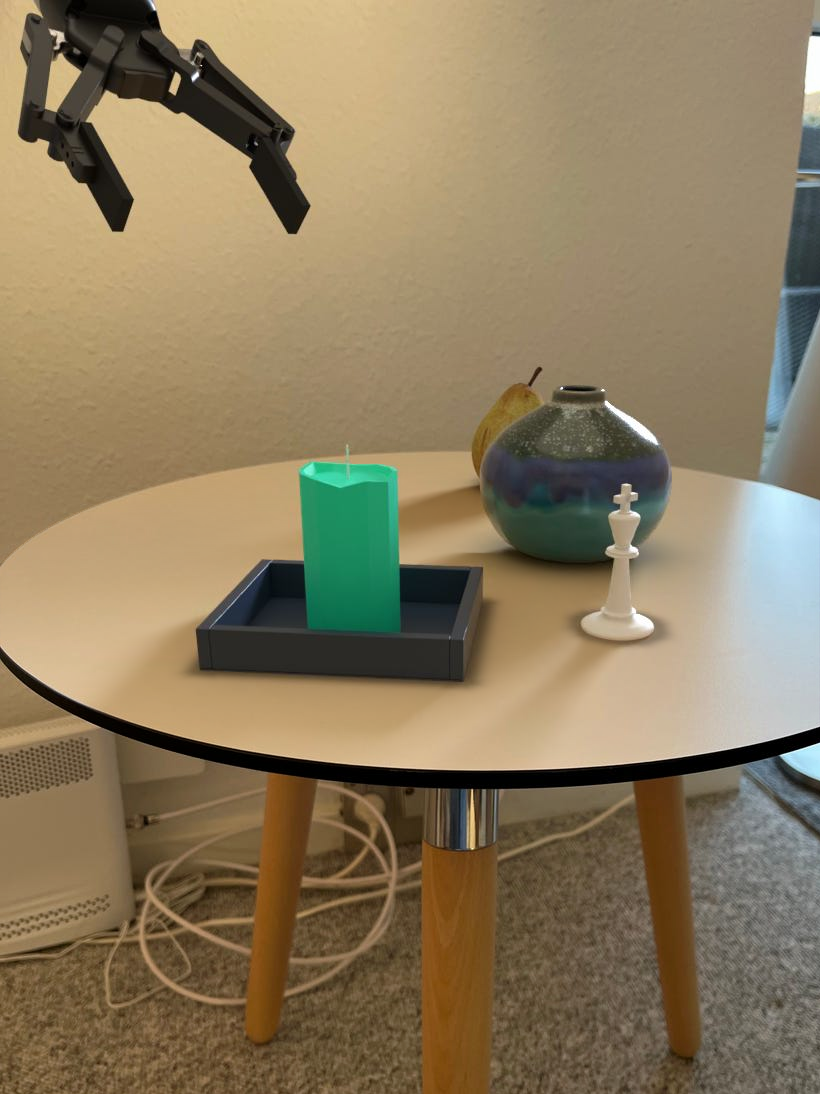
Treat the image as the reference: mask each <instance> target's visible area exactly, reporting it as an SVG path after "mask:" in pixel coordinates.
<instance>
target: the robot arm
mask: <svg viewBox="0 0 820 1094" xmlns="http://www.w3.org/2000/svg"><path fill="white" fill-rule="evenodd" d="M32 1H33V3H34V4H35V6H36V9H37V10H38V12H39V13H40V14H41V15H39V14H37V13H34V12H28V13H27V14H26V16H25V21H24V25H23V31H22V36H21V40H20V46H19V50H20V53H21V56H22V58H23V61H24V63H25V66H26V72H25V79H24V87H23V93H22V100H21V107H20V113H19V121H18V127H17V136H18V137H19V138H20V139H21V140H22V141H24V142H26V143H28V144H29V143H30V144H35V143H37V142H38V140H42V141H45V142H47V143H48V147H47V150H46V153H47V156H48V157H49V158H50V159H52V160H53V161H55V162H59V163H60V162H61V163H63V162H64V164H65V166H66V168H67V170H68V172H69V174H70V175H71V177H72V179H74V180H75V181H76V182H77V184H86V186H87V188H88V190H89V192H90V193H91V195H92V197H93V199H94V201H95V203H96V204H97V206H98V208H99V211H100V212H101V214H102V215H103V218H104V220H105V221H106V223H107V226H108V227H109V228H110V230H111V232H112V233H124V231H125V228H126V226H127V222H128V219H129V216H130V212H131V210H132V207H133V204H134V202H135V198H134V196H133V194H132V193H131V192H130V189H129V188H128V185H127V184H126V182H125V180H124V179H123V177H122V175H121V173H120V171H119V169H118V167H117V166H116V164H115V162H114V160H113V159H112V156H111V155H110V153H109V152H108V149H107V148H106V146H105V143H104V142H103V140H102V139H101V137H100V135H99V134H98V131H97V130H96V128H95V126H94V124H93V122H90V121H87V120H88V119H89V117H90V115H91V113H93V110H94V109H95V107H98V106H99V103H100V102H101V100H102V99H103V97H104V95H105V94H106V92H109V93H111V94H113V95H115V96H117V99H122V100H134V99H139V100H143V101H146V102H149V103H150V102H151V103H158V104H160V105H162V106H163V107H165V108H166V109H168V111H170V112H172V113H173V114H175V115H180V114H182V113H183V114H185V115H186V116H188V117H189V118H191V119H193V120H194V121H195V122H197V123H198V124H199V125H201V126H203V127H204V128H205V129H207V130H208V131H210V132H211V133H213V134H214V135H216V136H217V137H218V138H220V139H221V140H223V141H224V142H225V143H227V144H228V145H230V146H231V147H233V148H235V149H236V150H238V151H239V152H240V153H241V154H243V155H245V156H246V157H248V158H249V159H250V160H251V161H250V164H249V166H248V168H249V170H250V172H251V173H252V175H253V177H254V179H255V180H256V182H257V184H258V186H259V187H260V189H261V190H262V192H263V194H264V196H265V197H266V199H267V200H268V202H269V204H270V206H271V207H272V210H273V211H274V212H275V215H276V216H277V218H278V219H279V221H280V223H281V225H282V226H283V228H284V229H285V231H286V233H287V235H298V234H299V230H300V229H301V226H302V224H303V223H304V220H305V219H306V217H307V214H308V212H309V211H310V208H311V204H310V201H309V200H308V199H307V197H306V195H305V194H304V192H303V191H302V189H301V187H300V185H299V184H298V182H297V180H298V176H297V172H296V170H295V169H294V167H293V165H292V163H291V162H290V161H289V159H288V156H287V153H288V150H289V149H290V147H291V144H292V141H293V139H294V138H295V135H296V130H295V128H294V127H293V126H292V125H291V124H290V123H289V122H288V121H287V120H286V119H285V118H283V117H282V116H281V115H280V114H279V113H278V112H277V111H275V109H273V107H271V106H270V105H269V104H268V103H267V102H266V101H265V100H264V99H263V98H261V97H260V96H259V95H258V94H257V93H256V92H255V91H254V90H253V89H251V88H250V87H249V86H248V84H246V83H245V82H243V80H241V79H240V78H239V77H238V76H237V75H236V74H235V73H234V72H232V70H230V69H229V67H227V66H226V65H225V64H224V63H223V62H222V61H221V59H219V57H218V56H217V54H216V53H215V52H214V50H213V49H212V47H211V46H210V44H208V42H206V41H204V40H203V39H199V38H196V39H195V40H194V41H193V44H192V47H191V48H178V47H177V45H176V44H175V43H174V42H173V41H171V40H170V39H169V37H167V36H166V35H165V34H164V33H163V30H162V26H161V22H160V18H159V14H158V9H157V7H156V5H155V2H154V0H32ZM61 54H62V56H63V58H64V59H65V60H66V61H67V63H69V64H71V65H72V66H73V67H74V68H76V69H77V70H79V72H80V73H79V75H78V77H77V78H76V80H75V82H74V83H73V85H71V88H70V89H69V91H68V92H67V94H66V95H65V96H64V99H63V100H62V102H61V103H60V105H59V106H58V108H57V109H56V111H54V110H51V109H47V108H46V105H47V104H46V103H47V96H48V89H49V81H50V73H51V65H52V62H56V61H58V58H59V55H61ZM176 74H177V75H179V77H180V81H179V84H178V86H177V89H176V92H175V94H173V93H172V92H171V91H170V89H171V86H172V83H173V80H174V77H175V75H176Z"/></svg>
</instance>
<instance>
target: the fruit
mask: <svg viewBox="0 0 820 1094" xmlns="http://www.w3.org/2000/svg"><path fill="white" fill-rule="evenodd" d="M542 371H543V367H541V366H537V367H536V369H535V370H534V372H533V374H532V377H531V379H530V380H529V382H528V383H527V384H526V383H523V382H518V383H514V384H512V385H511V386H509V387H508V388H507V389H506V390H505V391H504V392H503V393H502V395H501V396H500V397H499V398H498V399H497V401H496V402H495V403H494V404H493V406H492V407H491V409H489V411H488V412H487V414H485V416H484V417H483V418H482V420H481V421H480V423H479V425H478V426H477V428H476V430H475V432H474V433H475V434H474V436H473V439H472V443H471V461H472V465H473V469H474V471H475V474H476V476H477V478H478V479H479V480H480V467H481V463H482V459H483V456H484V454H485V451H486V449H487V448H488V446H489V444H490V443H491V441H492V440H493V439H494V438H495V436H496V435H497V434H498V433H499V432H500V431H501V430H502V429H503V428H505V427H506V426H507V425H509V424H510V423H512V422H513V421H515V420H516V419H518V418H519V417H521V416H523V415H524V414H526V413H528V412H530V411H531V410H533V409H535V408H537V407H539V406H541V405H543V404H545V403H546V402H545V401H544V399H543V397H542V396H541V394H540V393H539V392H538V391H537V390H536V389H535V388H534V387H532V386H533V384H534V382H535V381H536V380H537V378H538V376H539V375H540V373H541V372H542Z"/></svg>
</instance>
